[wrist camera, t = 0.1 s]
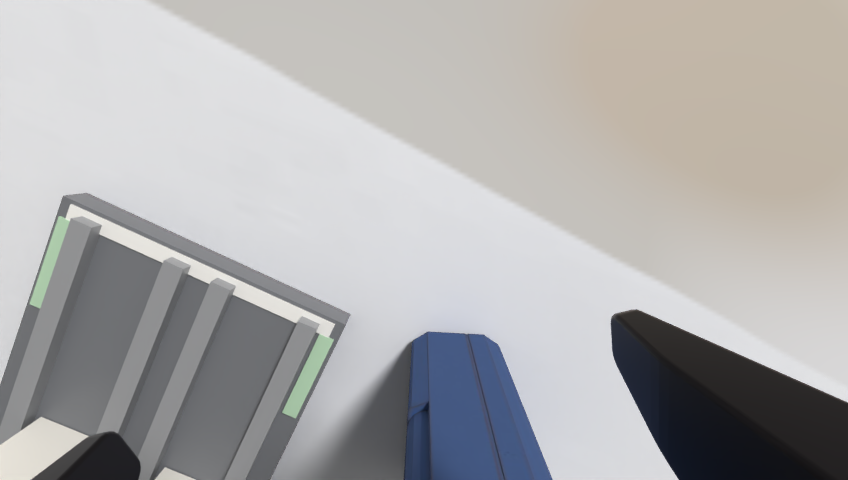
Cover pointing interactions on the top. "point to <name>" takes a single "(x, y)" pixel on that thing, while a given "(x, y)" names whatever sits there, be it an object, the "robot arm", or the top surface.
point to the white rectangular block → (36, 449)
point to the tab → (172, 475)
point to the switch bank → (164, 347)
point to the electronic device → (466, 414)
